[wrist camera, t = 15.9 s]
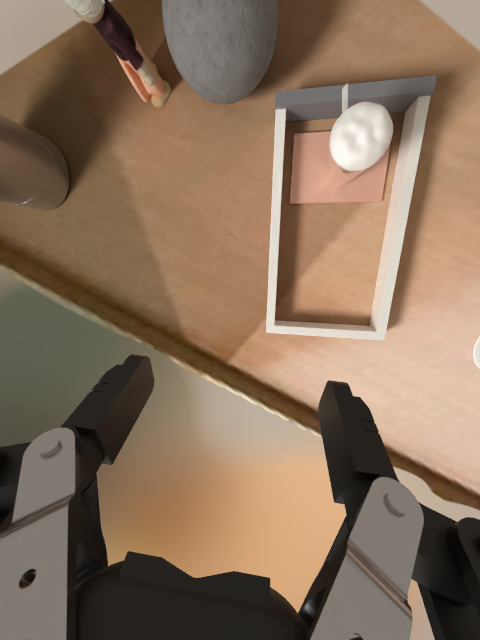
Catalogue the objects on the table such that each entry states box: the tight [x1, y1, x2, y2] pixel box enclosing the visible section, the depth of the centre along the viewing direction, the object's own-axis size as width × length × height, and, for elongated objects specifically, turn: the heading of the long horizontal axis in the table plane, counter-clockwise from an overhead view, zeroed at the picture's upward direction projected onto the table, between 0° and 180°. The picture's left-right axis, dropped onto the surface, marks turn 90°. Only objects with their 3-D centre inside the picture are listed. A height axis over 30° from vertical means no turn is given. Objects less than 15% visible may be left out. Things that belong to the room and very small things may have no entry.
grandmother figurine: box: [64, 0, 171, 107], centre depth 21 cm, size 8×4×13 cm, turn 47°
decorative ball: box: [162, 0, 278, 104], centre depth 21 cm, size 10×10×10 cm
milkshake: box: [323, 83, 393, 188], centre depth 21 cm, size 4×5×10 cm
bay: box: [266, 75, 437, 340], centre depth 27 cm, size 14×25×3 cm, turn 0°
